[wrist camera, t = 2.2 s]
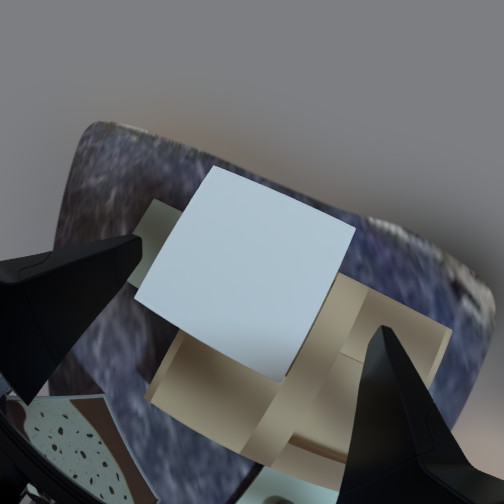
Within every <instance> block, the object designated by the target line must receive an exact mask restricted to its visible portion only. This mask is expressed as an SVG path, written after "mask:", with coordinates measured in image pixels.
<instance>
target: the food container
mask: <svg viewBox="0 0 504 504" xmlns="http://www.w3.org/2000/svg"><path fill="white" fill-rule="evenodd" d="M12 391H13V390H12V389H11V388H10V387H9V388H8V389H7V390H6V392H5V393H4V395H5V396H6V415H7V418H8V419H9V420H10V421H11V423H12V424H13V425H14V426H15V427H16V428H17V429H18V430H19V431H20V432H21V433H22V434H23V435H24V436H25V437H26V438H27V439H28V440H29V441H30V442H31V443H32V444H33V445H34V446H35V447H36V448H37V449H38V450H39V451H40V452H41V453H42V454H43V455H44V456H45V457H47V458H48V459H49V460H50V461H51V462H52V463H53V464H54V465H56V466H57V467H58V468H59V469H60V470H62V471H63V472H64V473H65V474H67V475H68V476H69V477H70V478H72V479H73V480H74V481H76V482H77V483H78V484H79V485H81V486H82V487H84V488H85V489H86V490H88V491H89V492H91V493H92V494H93V495H95V496H96V497H98V498H99V499H101V500H102V501H104V502H105V503H107V504H159V503H160V502H161V499H160V498H159V496H158V495H157V493H156V492H155V490H154V488H153V487H152V485H151V484H150V482H149V480H148V479H147V477H146V475H145V474H144V472H143V470H142V468H141V467H140V465H139V463H138V461H137V459H136V458H135V456H134V454H133V452H132V450H131V448H130V446H129V444H128V442H127V440H126V438H125V436H124V434H123V432H122V430H121V428H120V426H119V424H118V422H117V419H116V417H115V415H114V413H113V410H112V408H111V406H110V403H109V401H108V399H107V396H106V394H93V395H75V396H35V398H34V399H33V401H32V402H31V404H30V405H29V406H27V405H26V404H25V403H24V402H23V401H22V400H21V399H20V398H19V397H18V396H9V394H10V393H11V392H12ZM24 490H25V491H28V492H30V493H33V494H35V495H37V496H39V497H41V498H43V499H44V500H46V501H48V502H50V500H49V499H47V498H45V497H44V496H42V495H40V494H39V493H38V492H37V491H38V490H37V489H36V488H35V487H33V486H32V485H30V484H29V483H28V485H27V486H26V487H25V489H24Z"/></svg>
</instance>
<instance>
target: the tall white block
mask: <svg viewBox="0 0 504 504" xmlns="http://www.w3.org/2000/svg"><path fill="white" fill-rule="evenodd" d="M355 229H356V228H354V227H352V226H350V225H348V224H346V223H344V222H342V221H340V220H338V219H336V218H334V217H332V216H329V215H327V214H325V213H323V212H321V211H319V210H317V209H315V208H312V207H310V206H308V205H306V204H304V203H302V202H299V201H297V200H295V199H293V198H290V197H288V196H286V195H284V194H281V193H279V192H277V191H274V190H272V189H270V188H267V187H265V186H263V185H260V184H258V183H256V182H253V181H251V180H249V179H246V178H244V177H241V176H239V175H236V174H234V173H231V172H229V171H226V170H224V169H221V168H219V167H216V166H213V167H212V169H211V170H210V172H209V173H208V175H207V176H206V178H205V179H204V181H203V182H202V184H201V185H200V187H199V188H198V190H197V192H196V193H195V195H194V196H193V198H192V199H191V201H190V203H189V204H188V206H187V207H186V209H185V211H184V212H183V214H182V215H181V217H180V219H179V220H178V222H177V223H176V225H175V227H174V228H173V230H172V232H171V233H170V235H169V237H168V238H167V240H166V242H165V244H164V245H163V247H162V249H161V250H160V252H159V254H158V256H157V257H156V259H155V261H154V263H153V264H152V266H151V268H150V270H149V272H148V273H147V275H146V277H145V279H144V281H143V282H142V284H141V286H140V288H139V290H138V292H137V294H136V295H135V297H134V299H136V300H137V301H139V302H140V303H142V304H143V305H145V306H146V307H148V308H149V309H151V310H152V311H154V312H155V313H157V314H158V315H160V316H161V317H163V318H164V319H166V320H168V321H169V322H171V323H172V324H174V325H175V326H177V327H179V328H180V329H182V330H183V331H185V332H187V333H188V334H190V335H192V336H193V337H195V338H197V339H198V340H200V341H202V342H203V343H205V344H207V345H209V346H210V347H212V348H214V349H216V350H217V351H219V352H221V353H223V354H224V355H226V356H228V357H230V358H232V359H233V360H235V361H237V362H239V363H241V364H243V365H245V366H246V367H248V368H250V369H252V370H254V371H256V372H258V373H260V374H262V375H264V376H266V377H268V378H270V379H272V380H274V381H276V382H278V383H281V381H282V379H283V378H284V376H285V374H286V372H287V370H288V369H289V367H290V365H291V363H292V361H293V360H294V358H295V356H296V354H297V352H298V350H299V348H300V347H301V345H302V343H303V341H304V339H305V337H306V335H307V333H308V331H309V329H310V327H311V325H312V323H313V321H314V319H315V317H316V315H317V313H318V311H319V309H320V307H321V305H322V303H323V301H324V299H325V297H326V295H327V293H328V291H329V288H330V286H331V284H332V282H333V280H334V278H335V275H336V273H337V271H338V269H339V267H340V264H341V262H342V260H343V258H344V255H345V253H346V251H347V248H348V246H349V244H350V241H351V239H352V237H353V234H354V232H355Z"/></svg>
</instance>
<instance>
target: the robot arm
mask: <svg viewBox="0 0 504 504" xmlns="http://www.w3.org/2000/svg"><path fill="white" fill-rule="evenodd" d="M142 256H143V248H142V238H141V237H140V236H137V235H135V234H128V235H123V236H118V237H113V238H109V239H104V240H99V241H94V242H90V243H85V244H80V245H76V246H71V247H67V248H62V249H58V250H54V251H49V252H45V253H41V254H36V255H31V256H26V257H20V258H15V259H9V260H4V261H0V504H107V503H105V502H104V501H102V500H101V499H99V498H98V497H96V496H95V495H93V494H92V493H91V492H89V491H88V490H86V489H85V488H84V487H82V486H81V485H79V484H78V483H77V482H76V481H74V480H73V479H72V478H70V477H69V476H68V475H67V474H65V473H64V472H63V471H62V470H60V469H59V468H58V467H57V466H56V465H54V464H53V463H52V462H51V461H50V460H49V459H48V458H47V457H45V456H44V455H43V454H42V453H41V452H40V451H39V450H38V449H37V448H36V447H35V446H34V445H33V444H32V443H31V442H30V441H29V440H28V439H27V438H26V437H25V436H24V435H23V434H22V433H21V432H20V431H19V430H18V429H17V428H16V427H15V426H14V425H13V424H12V423H11V421H10V420H9V419H8V418H7V415H6V396H5V395H4V393H5V392H6V390H7V389H8V388H9V387H10V388H11V389H12V390H13V391H14V393H16V395H17V396H18V397H19V398H20V399H21V400H22V401H23V402H24V403H25V404H26V405H27V406H29V405H30V404H31V402H32V401H33V399H34V398H35V396H36V395H37V394H38V392H39V391H40V389H41V388H42V386H43V385H44V384H45V383H46V381H47V380H48V378H49V377H50V376H51V374H52V373H53V372H54V370H55V369H56V368H57V366H58V365H59V364H60V362H61V361H62V360H63V358H64V357H65V356H66V354H67V353H68V352H69V351H70V349H71V348H72V347H73V346H74V344H75V343H76V342H77V341H78V339H79V338H80V337H81V336H82V334H83V333H84V332H85V331H86V329H87V328H88V327H89V326H90V325H91V323H92V322H93V321H94V320H95V318H96V317H97V316H98V315H99V314H100V313H101V311H102V310H103V309H104V308H105V307H106V305H107V304H108V303H109V302H110V301H111V300H112V299H113V297H114V296H115V295H116V294H117V293H118V292H119V290H120V289H121V288H122V286H123V285H124V284H125V282H126V281H127V280H128V278H129V277H130V275H131V274H132V273H133V271H134V270H135V268H136V267H137V266H138V264H139V263H140V262H141V260H142ZM433 402H434V401H433V399H432V397H431V395H430V393H429V391H428V389H427V388H426V386H425V384H424V382H423V380H422V379H421V377H420V375H419V373H418V372H417V370H416V368H415V366H414V365H413V363H412V361H411V359H410V358H409V356H408V354H407V353H406V351H405V349H404V347H403V346H402V344H401V342H400V341H399V339H398V338H397V336H396V334H395V333H394V331H393V329H392V328H390V327H387V326H384V325H380V326H379V327H378V329H377V330H376V332H375V333H374V335H373V336H372V338H371V339H370V341H369V343H368V346H367V351H366V356H365V360H364V365H363V369H362V374H361V378H360V383H359V389H358V396H357V404H356V411H355V417H354V423H353V429H352V435H351V441H350V446H349V451H348V456H347V461H346V465H345V470H344V474H343V478H342V483H341V487H340V491H339V495H338V498H337V501H336V504H504V480H501V479H499V478H496V477H494V476H491V475H489V474H486V473H484V472H482V471H479V470H477V469H476V468H474V467H473V466H472V465H471V464H470V463H469V461H468V460H467V458H466V457H465V455H464V453H463V452H462V450H461V448H460V447H459V445H458V443H457V441H456V440H455V438H454V436H453V435H452V433H451V431H450V430H449V428H448V426H447V425H446V423H445V421H444V419H443V417H442V416H441V414H440V412H439V410H438V408H437V406H436V404H435V403H433ZM28 483H29V484H30V485H32V486H33V487H35V488H36V489H37V490H38V491H37V492H38V493H39V494H40V495H42V496H44V497H45V498H47V499H49V500H50V502H48V501H46V500H44V499H43V498H41V497H39V496H37V495H35V494H33V493H30V492H28V491H25V490H24V489H25V487H26V486H27V485H28Z"/></svg>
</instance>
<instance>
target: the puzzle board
mask: <svg viewBox="0 0 504 504" xmlns="http://www.w3.org/2000/svg"><path fill="white" fill-rule="evenodd" d="M182 214H183V212H181V211H179V210H177V209H175V208H173V207H171V206H169V205H167V204H165V203H163V202H161V201H158V200H156V199H154V200H153V201H152V203H151V204H150V206H149V207H148V209H147V211H146V212H145V214H144V215H143V217H142V219H141V220H140V222H139V223H138V225H137V227H136V228H135V230H134V232H133V233H132V234H135V235H137V236H140V237H141V238H142V248H143V256H142V260H141V262H140V263H139V264H138V266H137V267H136V268H135V270H134V271H133V273H132V274H131V275H130V277H129V278H128V280H127V281H128V282H129V283H131V284H132V285H134V286H135V287H137V288H138V289H139V288H140V286H141V284H142V282H143V281H144V279H145V277H146V275H147V273H148V272H149V270H150V268H151V266H152V264H153V263H154V261H155V259H156V257H157V256H158V254H159V252H160V250H161V249H162V247H163V245H164V244H165V242H166V240H167V238H168V237H169V235H170V233H171V232H172V230H173V228H174V227H175V225H176V223H177V222H178V220H179V219H180V217H181V215H182ZM380 325H384V326H387V327H390V328H392V329H393V331H394V333H395V334H396V336H397V338H398V339H399V341H400V342H401V344H402V346H403V347H404V349H405V351H406V353H407V354H408V356H409V358H410V359H411V361H412V363H413V365H414V366H415V368H416V370H417V372H418V373H419V375H420V377H421V379H422V380H423V382H424V384H425V386H426V388H427V389H429V387H430V385H431V383H432V381H433V378H434V376H435V374H436V372H437V369H438V367H439V365H440V362H441V360H442V357H443V355H444V352H445V350H446V347H447V344H448V342H449V339H450V336H451V333H452V330H451V329H449V328H447V327H445V326H443V325H441V324H439V323H438V322H436V321H434V320H432V319H430V318H428V317H426V316H424V315H422V314H420V313H418V312H416V311H414V310H413V309H411V308H409V307H407V306H405V305H403V304H401V303H399V302H397V301H395V300H393V299H391V298H389V297H387V296H385V295H383V294H381V293H379V292H377V291H375V290H373V289H371V288H369V287H367V286H365V285H363V284H361V283H359V282H357V281H355V280H353V279H351V278H349V277H347V276H345V275H343V274H341V273H339V272H337V273H336V275H335V278H334V280H333V282H332V284H331V286H330V288H329V291H328V293H327V295H326V297H325V299H324V301H323V303H322V305H321V307H320V309H319V311H318V313H317V315H316V317H315V319H314V321H313V323H312V325H311V327H310V329H309V331H308V333H307V335H306V337H305V339H304V341H303V343H302V345H301V347H300V348H299V350H298V352H297V354H296V356H295V358H294V360H293V361H292V363H291V365H290V367H289V369H288V370H287V372H286V374H285V376H284V378H283V379H282V381H281V383H278V382H276V381H274V380H272V379H270V378H268V377H266V376H264V375H262V374H260V373H258V372H256V371H254V370H252V369H250V368H248V367H246V366H245V365H243V364H241V363H239V362H237V361H235V360H233V359H232V358H230V357H228V356H226V355H224V354H223V353H221V352H219V351H217V350H216V349H214V348H212V347H210V346H209V345H207V344H205V343H203V342H202V341H200V340H198V339H197V338H195V337H193V336H192V335H190V334H188V333H187V332H185V331H183V330H182V329H179V331H178V333H177V335H176V337H175V339H174V340H173V342H172V344H171V346H170V348H169V350H168V352H167V354H166V355H165V357H164V359H163V361H162V363H161V365H160V367H159V369H158V371H157V373H156V374H155V376H154V378H153V380H152V382H151V384H150V386H149V388H148V390H147V392H146V394H145V396H144V398H145V399H147V400H148V401H149V402H151V403H152V404H154V405H155V406H157V407H158V408H160V409H161V410H163V411H164V412H166V413H167V414H169V415H170V416H172V417H174V418H175V419H177V420H178V421H180V422H182V423H183V424H185V425H187V426H188V427H190V428H192V429H193V430H195V431H197V432H198V433H200V434H202V435H204V436H206V437H207V438H209V439H211V440H213V441H215V442H217V443H218V444H220V445H222V446H224V447H226V448H228V449H230V450H232V451H234V452H236V453H238V454H240V455H242V456H244V457H247V458H249V459H251V460H253V461H255V462H258V463H260V464H262V465H263V467H262V468H261V470H260V471H259V472H258V474H257V475H256V476H255V478H254V479H253V480H252V482H251V483H250V484H249V486H248V487H247V488H246V490H245V491H244V492H243V494H242V495H241V496H240V497H239V499H238V500H237V501H236V502H235V504H336V501H337V498H338V495H339V491H340V487H341V483H342V478H343V474H344V470H345V465H346V461H347V456H348V451H349V446H350V441H351V435H352V429H353V423H354V417H355V411H356V404H357V396H358V389H359V383H360V378H361V374H362V369H363V365H364V360H365V356H366V351H367V346H368V343H369V341H370V339H371V338H372V336H373V335H374V333H375V332H376V330H377V329H378V327H379V326H380Z"/></svg>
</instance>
